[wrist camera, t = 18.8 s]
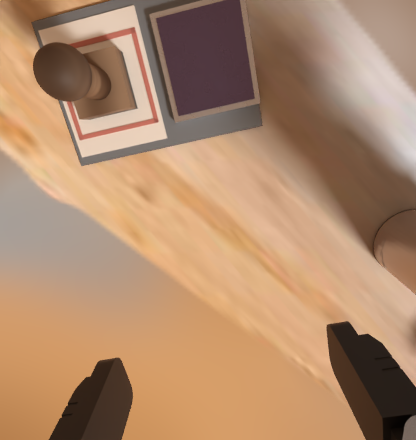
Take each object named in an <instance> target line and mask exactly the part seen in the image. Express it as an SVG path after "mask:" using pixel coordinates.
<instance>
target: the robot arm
mask: <svg viewBox="0 0 416 440" xmlns="http://www.w3.org/2000/svg"><path fill="white" fill-rule="evenodd" d="M374 254H375V257H376V259H377V261H378V262H379V263H380V264H381V265H382V266H383V267H384V268H385V269H386V270H387V271H389V272H390V273H391V274H392V275H393V276H395V277H396V278H397V279H398V280H399V281H400V282H401V283H403V284H404V285H405V286H406V287H407V288H409V289H410V290H411V291H412V292H413V293H414V294H416V210H408V211H404V212H401V213H398V214H396V215H395V216H393V217H391V218H390V219H389V220H388V221H386V222H385V223H384V224H383V225H382V227H381V228H380V229H379V231H378V233H377V235H376V237H375V241H374ZM327 337H328V347H329V356H330V362H331V365H332V369H333V371H334V374H335V376H336V378H337V381H338V383H339V385H340V387H341V389H342V391H343V393H344V395H345V397H346V399H347V401H348V403H349V405H350V408H351V410H352V412H353V414H354V416H355V418H356V420H357V422H358V424H359V426H360V428H361V430H362V432H363V435H364V437H365V439H366V440H416V387H415V386H414V384H413V383H412V382H411V380H410V379H409V378H408V377H407V375H406V374H405V373H404V371H403V370H402V369H400V366H399V365H398V363H397V362H396V361H395V360H394V359H393V358H392V356H391V354H390V353H389V352H388V350H387V349H386V348H385V346H384V345H383V344H382V343H381V342H379V341H378V340H376V339H375V338H373V337H372V336H371V335H369V334H364V335H358V334H357V333H356V331H355V330H354V328H353V327H352V325H351V324H350V323H349V322H348V321H346V322H340V323H334V324H328V325H327ZM132 399H133V392H132V387H131V384H130V381H129V379H128V376H127V374H126V371H125V368H124V366H123V363H122V361H121V360H120V358H113V359H107V360H101V361H99V362H98V363H97V365H96V366H95V369H94V371H93V373H92V375H91V377H86V378H85V379H84V380H83V381H82V382H81V384H80V385H79V386H78V387H77V388H76V390H75V391H74V393H73V394H72V397H71V398H70V400H69V402H68V406H66V408H65V410H64V412H63V414H62V418H60V419H59V421H58V423H57V425H56V427H55V429H54V431H53V433H52V435H51V437H50V439H49V440H121V439H122V436H123V433H124V429H125V426H126V422H127V418H128V415H129V412H130V409H131V405H132Z"/></svg>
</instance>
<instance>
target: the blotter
mask: <svg viewBox="0 0 416 440" xmlns="http://www.w3.org/2000/svg"><path fill="white" fill-rule="evenodd" d="M197 1H201V0H111V1H107V2H104V3H100V4H96V5H93V6H89V7H85V8H82V9H78V10H74V11H71V12H67V13H63V14H60V15H56V16H52V17H49V18H45V19H41V20H37V21H34V22H32V25H33V28H34V31H35V34H36V37H37V40H38V42H39V45H40V48H41V47H43V46H44V45H46V44H49V43H53V42H60V43H65V44H68V45H70V46H72V47H74V48H76V49H77V50H78V51H80V52H81V53H82V54H84V53H88V52H92V51H96V50H100V49H104V48H108V47H112V46H115V47H117V48H118V49H119V50H120V51H122V52H123V56H124V59H125V63H126V67H127V70H128V74H129V78H130V82H131V85H132V89H133V93H134V96H135V100H136V104H137V107H138V109H134V110H129V111H125V112H121V113H117V114H112V115H108V116H104V117H100V118H95V119H91V120H81V119H79V117H78V114H77V111H76V108H75V105H74V102H73V101H71V102H66V101H61V100H59V103H60V105H61V108H62V111H63V114H64V117H65V120H66V123H67V126H68V128H69V131H70V134H71V137H72V140H73V143H74V146H75V148H76V151H77V154H78V157H79V160H80V163H81V166H84V165H89V164H93V163H98V162H102V161H107V160H111V159H116V158H120V157H125V156H129V155H133V154H138V153H142V152H147V151H151V150H156V149H160V148H165V147H169V146H174V145H178V144H183V143H187V142H192V141H196V140H201V139H205V138H210V137H214V136H219V135H223V134H228V133H232V132H237V131H241V130H246V129H250V128H254V127H259V126H262V120H261V113H260V107H259V104H256V105H252V106H247V107H243V108H239V109H234V110H230V111H225V112H221V113H217V114H212V115H208V116H204V117H199V118H195V119H191V120H186V121H182V122H178V123H175V120H174V116H173V112H172V108H171V103H170V99H169V95H168V91H167V87H166V82H165V78H164V74H163V70H162V66H161V61H160V57H159V53H158V49H157V45H156V40H155V36H154V32H153V28H152V24H151V19H150V15H149V14H152V13H156V12H159V11H163V10H167V9H171V8H174V7H178V6H182V5H186V4H190V3H193V2H197Z"/></svg>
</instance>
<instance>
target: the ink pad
mask: <svg viewBox="0 0 416 440" xmlns="http://www.w3.org/2000/svg"><path fill="white" fill-rule="evenodd" d="M149 15H150V19H151V24H152V28H153V32H154V36H155V40H156V45H157V49H158V53H159V57H160V61H161V66H162V70H163V74H164V78H165V82H166V87H167V91H168V95H169V99H170V103H171V108H172V112H173V116H174V120H175V123H178V122H182V121H186V120H191V119H195V118H199V117H204V116H208V115H212V114H217V113H221V112H225V111H230V110H234V109H239V108H243V107H247V106H252V105H256V104H260V103H261V102H260V95H259V89H258V82H257V75H256V68H255V62H254V55H253V48H252V41H251V35H250V28H249V21H248V14H247V7H246V1H245V0H201V1H197V2H193V3H190V4H186V5H182V6H178V7H174V8H171V9H167V10H163V11H159V12H156V13H152V14H149Z"/></svg>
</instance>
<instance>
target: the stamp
mask: <svg viewBox="0 0 416 440" xmlns="http://www.w3.org/2000/svg"><path fill="white" fill-rule="evenodd" d="M33 70H34V75H35V78H36V80H37V82H38V84H39V85H40V87H41V88H42V89H43V90H44V91H45V92H46V93H47V94H49V95H50V96H52V97H53V98H55V99H58V100H61V101H66V102H71V101H73V102H74V105H75V108H76V111H77V114H78V117H79V119H81V120H91V119H95V118H100V117H104V116H108V115H112V114H117V113H121V112H125V111H129V110H134V109H138V107H137V104H136V100H135V96H134V93H133V89H132V85H131V82H130V78H129V74H128V70H127V67H126V63H125V59H124V56H123V52H122V51H120V50H119V49H118V48H117V47H115V46H112V47H108V48H104V49H100V50H96V51H92V52H88V53H84V54H82V53H81V52H80V51H78V50H77V49H76V48H74V47H72V46H70V45H68V44H65V43H60V42H53V43H49V44H46V45H44V46H43V47H41V48H40V49H39V50H38V52H37V53H36V55H35V58H34V62H33Z"/></svg>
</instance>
